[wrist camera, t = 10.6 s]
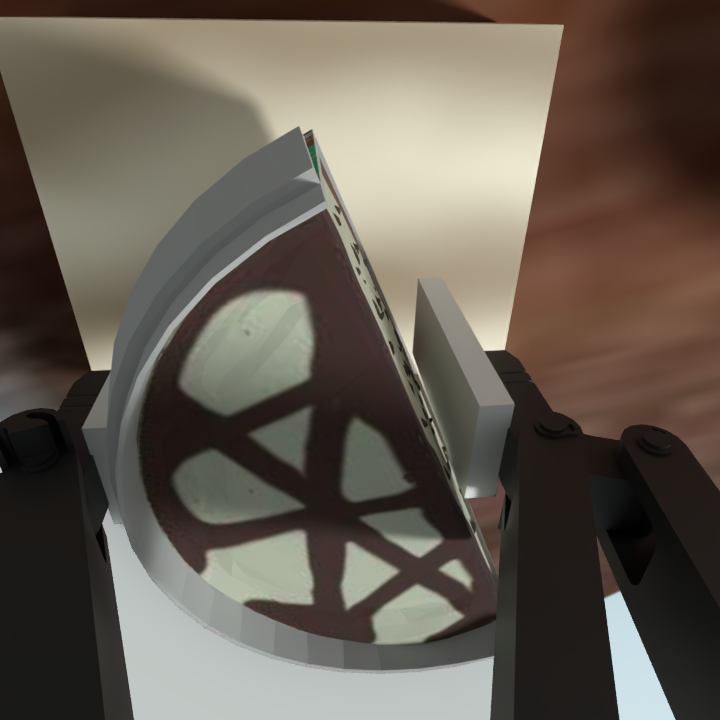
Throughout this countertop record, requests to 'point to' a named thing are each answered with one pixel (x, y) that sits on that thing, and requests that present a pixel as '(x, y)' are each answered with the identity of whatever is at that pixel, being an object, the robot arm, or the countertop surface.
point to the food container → (290, 438)
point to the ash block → (274, 119)
